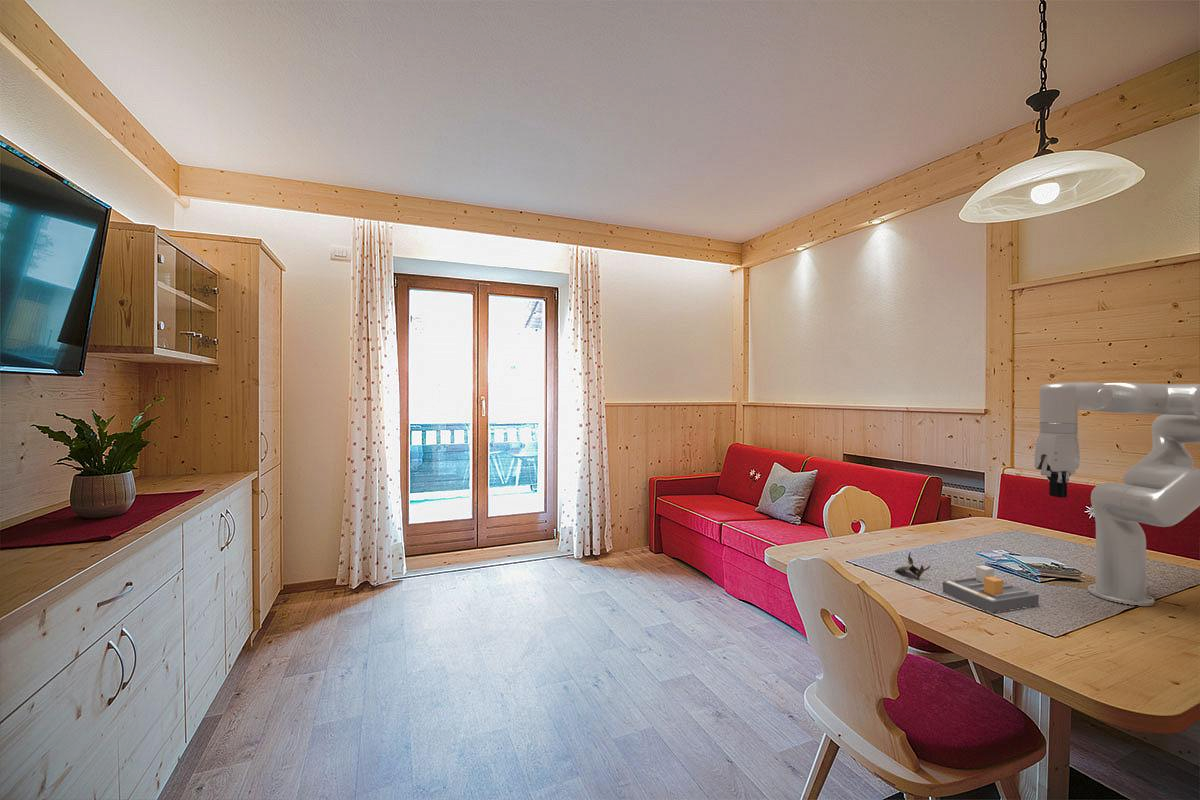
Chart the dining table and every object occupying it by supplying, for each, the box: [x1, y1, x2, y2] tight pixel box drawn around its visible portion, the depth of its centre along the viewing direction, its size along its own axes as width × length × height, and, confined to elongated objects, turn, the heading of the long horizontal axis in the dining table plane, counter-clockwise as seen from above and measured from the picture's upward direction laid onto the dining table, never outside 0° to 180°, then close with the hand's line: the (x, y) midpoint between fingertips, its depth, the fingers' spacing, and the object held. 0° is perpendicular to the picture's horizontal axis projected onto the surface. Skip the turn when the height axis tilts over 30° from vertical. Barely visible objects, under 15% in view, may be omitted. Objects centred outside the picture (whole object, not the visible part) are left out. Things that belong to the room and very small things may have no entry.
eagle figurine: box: [895, 551, 931, 581], centre depth 153 cm, size 8×7×9 cm
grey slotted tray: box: [942, 576, 1040, 613], centre depth 136 cm, size 16×14×4 cm
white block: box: [975, 564, 995, 583], centre depth 140 cm, size 3×3×4 cm
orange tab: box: [984, 576, 1004, 596], centre depth 131 cm, size 3×3×4 cm
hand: (1058, 496), depth 132 cm, fingers closed
